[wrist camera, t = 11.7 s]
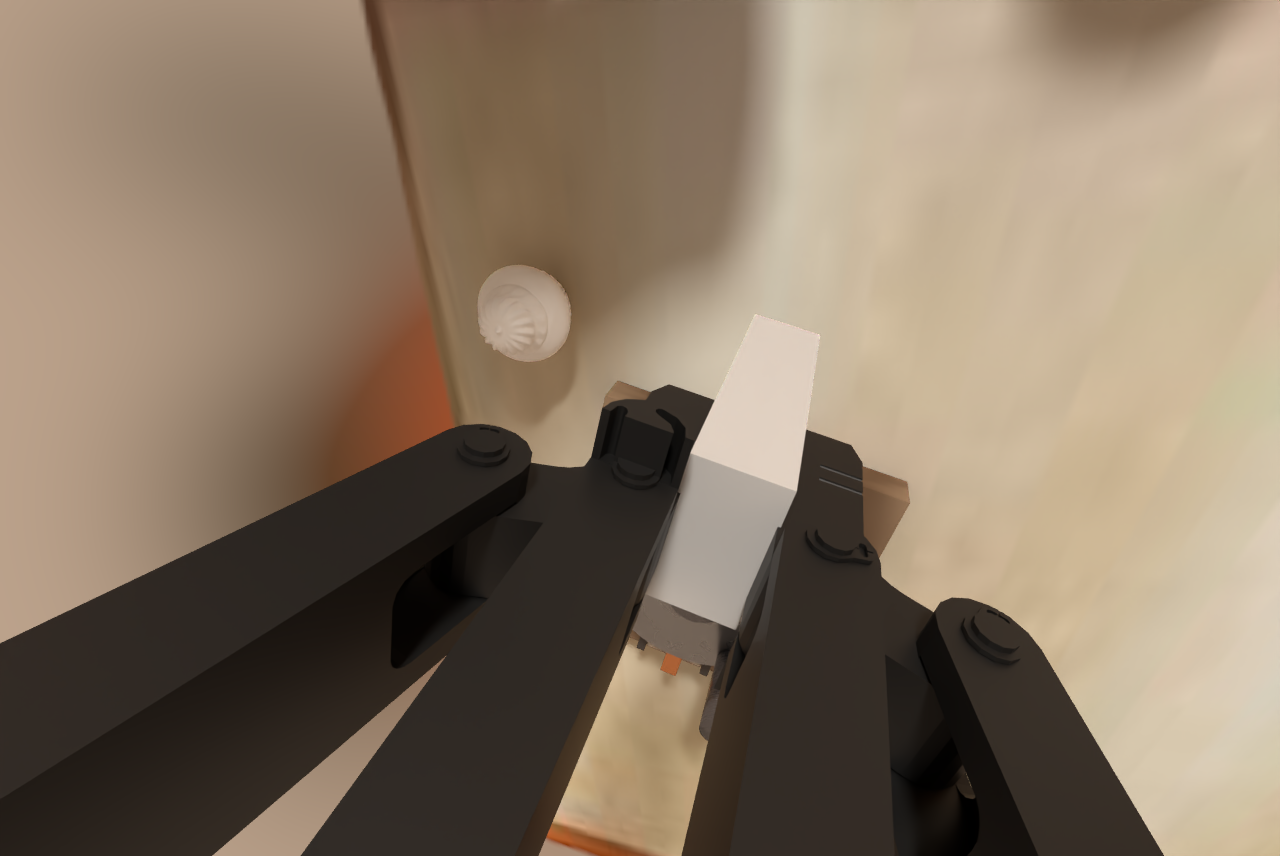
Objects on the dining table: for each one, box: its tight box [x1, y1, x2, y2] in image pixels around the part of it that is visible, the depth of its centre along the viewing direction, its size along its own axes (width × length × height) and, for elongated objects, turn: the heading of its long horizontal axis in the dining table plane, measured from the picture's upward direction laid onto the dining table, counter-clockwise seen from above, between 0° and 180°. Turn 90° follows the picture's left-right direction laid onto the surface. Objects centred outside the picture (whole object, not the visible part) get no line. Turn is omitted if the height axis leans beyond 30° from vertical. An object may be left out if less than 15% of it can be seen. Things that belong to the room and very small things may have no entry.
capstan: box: [632, 594, 743, 741], centre depth 42 cm, size 16×15×8 cm
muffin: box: [477, 265, 572, 362], centre depth 40 cm, size 6×6×7 cm
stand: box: [603, 381, 910, 676], centre depth 46 cm, size 20×20×3 cm
